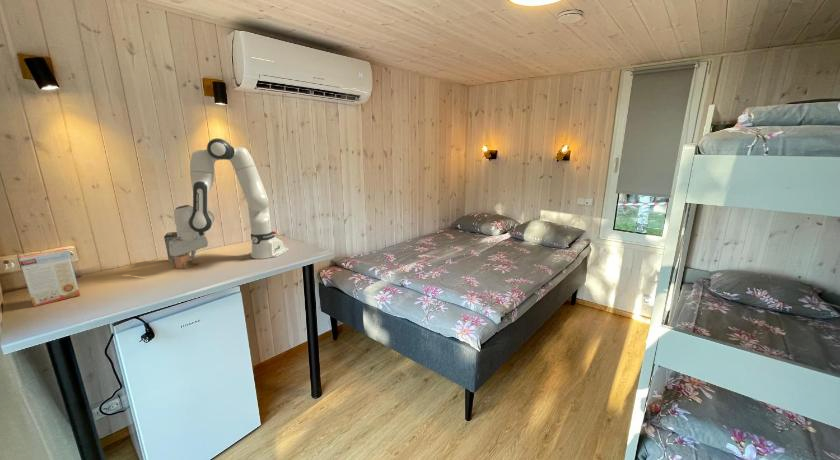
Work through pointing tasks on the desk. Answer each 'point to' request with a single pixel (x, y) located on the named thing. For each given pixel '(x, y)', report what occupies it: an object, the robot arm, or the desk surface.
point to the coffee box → (167, 239)
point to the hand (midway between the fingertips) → (191, 259)
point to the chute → (188, 264)
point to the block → (181, 260)
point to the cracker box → (49, 276)
